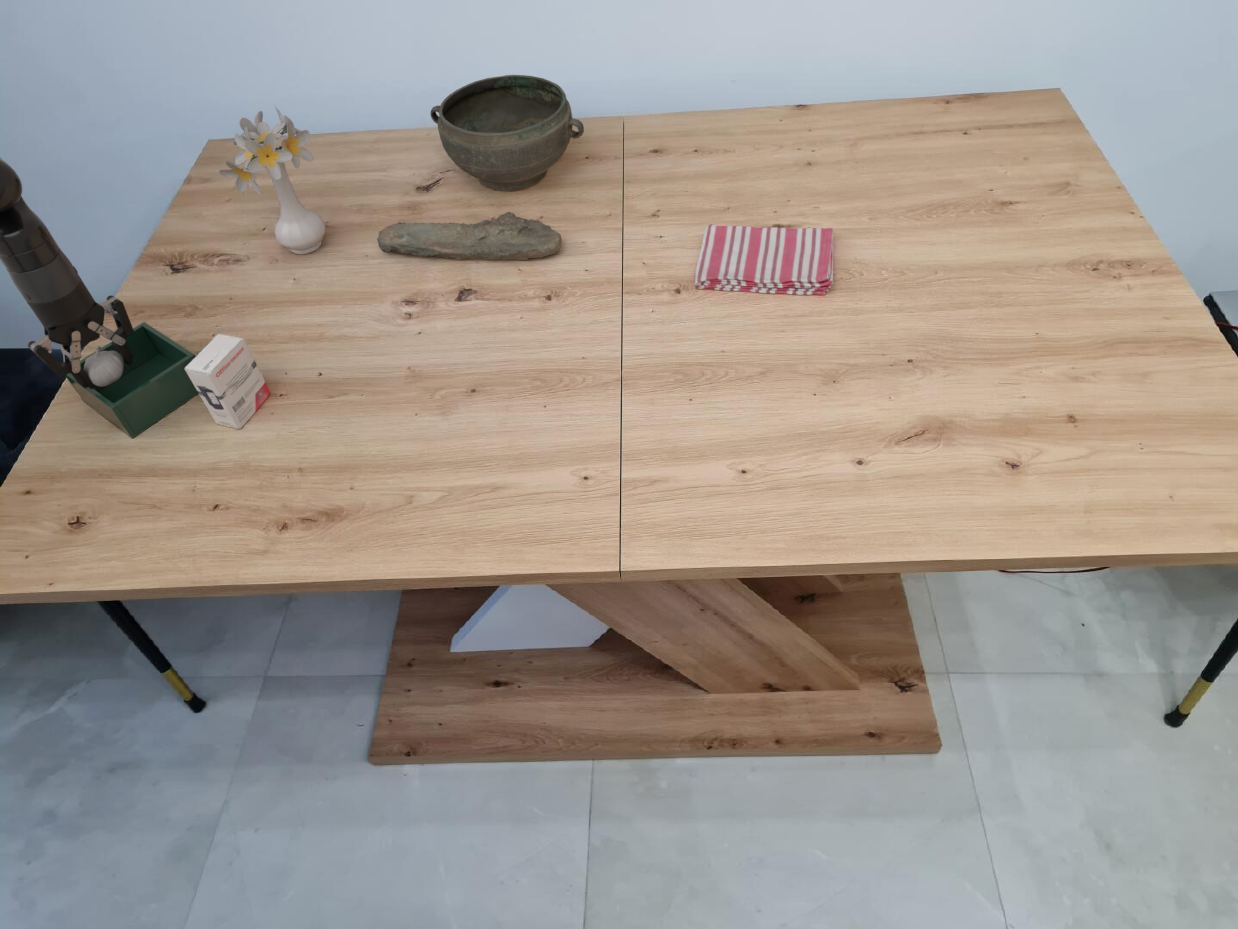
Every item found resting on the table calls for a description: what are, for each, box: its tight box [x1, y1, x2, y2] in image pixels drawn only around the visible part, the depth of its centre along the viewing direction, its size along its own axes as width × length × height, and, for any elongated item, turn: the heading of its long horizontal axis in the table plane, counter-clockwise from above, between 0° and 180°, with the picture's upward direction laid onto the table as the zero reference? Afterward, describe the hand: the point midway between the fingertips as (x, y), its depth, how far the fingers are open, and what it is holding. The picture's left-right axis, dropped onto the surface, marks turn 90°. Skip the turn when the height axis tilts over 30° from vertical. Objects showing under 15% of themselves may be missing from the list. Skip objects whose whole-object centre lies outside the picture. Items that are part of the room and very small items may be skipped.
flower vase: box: [218, 104, 327, 255], centre depth 161 cm, size 13×18×25 cm
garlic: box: [84, 345, 124, 386], centre depth 136 cm, size 6×5×5 cm
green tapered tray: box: [65, 321, 199, 440], centre depth 143 cm, size 15×15×7 cm
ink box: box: [184, 333, 272, 430], centre depth 137 cm, size 8×5×12 cm, turn 160°
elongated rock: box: [376, 211, 563, 261], centre depth 165 cm, size 35×5×10 cm
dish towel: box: [693, 223, 834, 296], centre depth 156 cm, size 17×23×4 cm
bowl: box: [430, 74, 585, 193], centre depth 178 cm, size 32×26×15 cm
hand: (109, 374), depth 138 cm, fingers closed on garlic, 6 cm apart
